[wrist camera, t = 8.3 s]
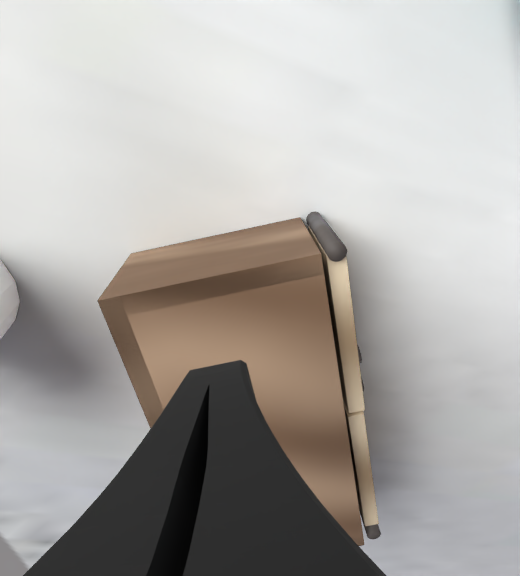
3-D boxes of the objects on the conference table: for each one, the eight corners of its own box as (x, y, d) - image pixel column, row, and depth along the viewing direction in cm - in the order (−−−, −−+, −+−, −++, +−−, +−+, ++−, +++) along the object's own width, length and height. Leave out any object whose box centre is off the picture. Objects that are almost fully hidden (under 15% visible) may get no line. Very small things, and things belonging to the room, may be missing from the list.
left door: (368, 463, 25) (394, 535, 21) (345, 467, 25) (367, 540, 21) (353, 354, 22) (381, 413, 17) (327, 359, 22) (349, 420, 17)
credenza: (367, 460, 25) (396, 539, 20) (215, 489, 25) (210, 573, 21) (335, 206, 18) (368, 239, 14) (129, 250, 19) (95, 296, 14)
